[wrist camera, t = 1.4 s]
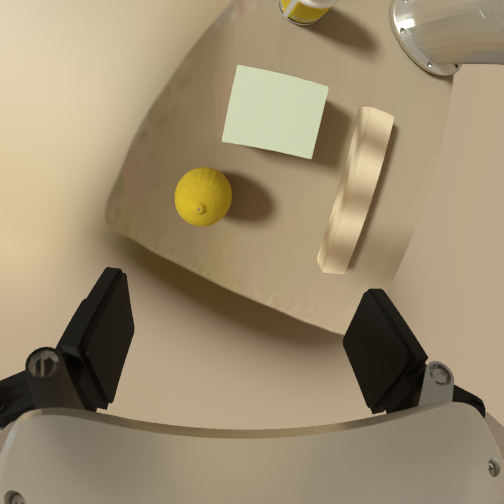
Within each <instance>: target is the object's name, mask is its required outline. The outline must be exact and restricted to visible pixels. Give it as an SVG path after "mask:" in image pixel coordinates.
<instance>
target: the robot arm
mask: <svg viewBox="0 0 504 504" xmlns="http://www.w3.org/2000/svg"><path fill="white" fill-rule="evenodd" d="M390 17H391V23H392V27H393V30H394V33H395V35H396V38H397V39H398V41H399V43H400V45H401V46H402V48H403V49H404V51H405V52H406V53H407V55H408V56H409V57H410V58H411V59H412V60H413V61H414V62H415V63H416V64H417V65H418V66H420V67H421V68H423V69H424V70H426V71H427V72H429V73H432V74H434V75H439V76H447V75H452V74H454V73H456V72H457V71H458V70H459V69H460V67H461V65H462V64H499V65H504V0H394V1H393V3H392V6H391V11H390ZM133 335H134V322H133V316H132V310H131V304H130V297H129V291H128V284H127V275H126V274H125V273H122V270H121V269H118V268H111V267H107V268H106V269H105V270H104V272H103V273H102V274H101V276H100V278H99V279H98V281H97V282H96V284H95V285H94V287H93V289H92V290H91V292H90V293H89V295H88V297H87V298H86V299H84V300H83V301H82V302H81V304H80V306H79V307H78V309H77V311H76V312H75V314H74V316H73V317H72V319H71V321H70V323H69V324H68V326H67V328H66V330H65V331H64V333H63V335H62V337H61V339H60V341H59V343H58V344H57V347H56V348H55V349H54V348H52V347H42V348H38V349H36V350H34V351H33V352H32V353H31V354H30V355H29V357H28V358H27V360H26V364H25V370H24V371H22V372H20V373H17V374H15V375H13V376H10V377H8V378H6V379H3V380H1V381H0V504H504V427H503V426H502V425H501V424H500V423H499V422H497V420H495V419H494V418H493V417H492V416H491V415H490V414H489V413H488V412H487V413H486V414H485V407H484V404H483V402H482V400H481V399H480V398H478V397H477V396H475V395H473V394H471V393H469V392H467V391H465V390H464V389H462V388H459V387H458V386H456V385H454V377H453V374H452V372H451V370H450V369H449V368H448V367H447V366H446V365H444V364H443V363H441V362H438V361H433V362H430V363H429V364H428V365H426V364H425V362H426V360H427V359H428V356H427V355H426V353H425V351H424V350H423V348H422V347H421V345H420V344H419V342H418V340H417V339H416V337H415V336H414V334H413V333H412V331H411V330H410V328H409V326H408V325H407V324H406V322H405V321H404V319H403V317H402V316H401V315H400V313H399V312H398V310H397V309H396V307H395V306H394V304H393V303H392V302H391V300H390V299H389V297H388V296H387V294H386V293H385V292H384V290H383V289H369V290H368V291H367V292H365V293H364V294H363V297H362V299H361V301H360V303H359V306H358V308H357V310H356V312H355V315H354V317H353V319H352V321H351V323H350V325H349V328H348V330H347V332H346V334H345V336H344V338H343V346H344V349H345V351H346V354H347V356H348V359H349V361H350V363H351V366H352V368H353V371H354V374H355V376H356V378H357V381H358V384H359V386H360V389H361V391H362V394H363V397H364V399H365V402H366V405H367V406H368V408H370V409H371V411H372V414H376V413H381V412H384V410H386V413H387V414H384V415H380V416H375V417H370V418H365V419H360V420H355V421H349V422H342V423H336V424H329V425H320V426H311V427H302V428H288V429H267V430H266V429H265V430H230V429H229V430H228V429H206V428H193V427H183V426H174V425H166V424H159V423H152V422H145V421H139V420H133V419H128V418H123V417H118V416H113V415H108V414H102V413H97V412H96V411H97V408H101V409H105V410H107V407H108V403H112V402H113V400H114V397H115V393H116V390H117V386H118V383H119V379H120V376H121V372H122V369H123V366H124V363H125V359H126V356H127V353H128V350H129V346H130V344H131V341H132V337H133Z"/></svg>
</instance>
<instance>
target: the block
mask: <svg viewBox="0 0 504 504" xmlns="http://www.w3.org/2000/svg"><path fill="white" fill-rule="evenodd" d="M328 88H329V87H327V86H324V85H321V84H317V83H314V82H311V81H307V80H304V79H300V78H296V77H292V76H288V75H284V74H280V73H276V72H272V71H267V70H262V69H257V68H252V67H246V66H241V65H238V66H237V70H236V74H235V79H234V83H233V88H232V93H231V97H230V102H229V107H228V112H227V117H226V122H225V127H224V132H223V138H222V142H228V143H235V144H240V145H246V146H252V147H257V148H262V149H267V150H272V151H277V152H282V153H286V154H291V155H295V156H299V157H304V158H308V159H311V158H312V154H313V150H314V146H315V142H316V138H317V134H318V130H319V126H320V122H321V118H322V114H323V109H324V105H325V101H326V96H327V92H328Z"/></svg>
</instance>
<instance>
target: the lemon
mask: <svg viewBox="0 0 504 504" xmlns="http://www.w3.org/2000/svg"><path fill="white" fill-rule="evenodd" d="M231 201H232V191H231V186H230V184H229V182H228V180H227V178H226V177H225V176H224V175H223V174H222V173H221V172H219V171H218V170H216V169H213V168H209V167H200V168H196V169H193V170H191V171H189V172H188V173H187V174H185V175H184V176H183V177H182V179H181V180H180V181H179V183H178V185H177V188H176V191H175V204H176V208H177V210H178V213H179V214H180V216H181V217H182V218H183V219H184V220H185V221H187V222H188V223H190V224H192V225H195V226H209V225H212V224H214V223H216V222H218V221H219V220H220V219H221V218H223V217H224V216H225V214H226V213H227V211H228V209H229V207H230V204H231Z"/></svg>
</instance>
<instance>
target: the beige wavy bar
mask: <svg viewBox="0 0 504 504" xmlns="http://www.w3.org/2000/svg"><path fill="white" fill-rule="evenodd" d="M393 121H394V116H392V115H390V114H387V113H385V112H383V111H380V110H378V109H375V108H373V107H359V112H358V116H357V121H356V125H355V129H354V133H353V137H352V141H351V145H350V149H349V153H348V157H347V161H346V164H345V168H344V172H343V175H342V179H341V183H340V186H339V190H338V193H337V196H336V200H335V203H334V207H333V210H332V213H331V216H330V220H329V223H328V226H327V229H326V232H325V236H324V239H323V242H322V245H321V248H320V251H319V254H318V257H317V261H318V263H319V265H320V267H321V269H322V271H323V272H326V273H335V274H343V275H344V274H345V272H346V269H347V267H348V264H349V262H350V259H351V257H352V254H353V251H354V249H355V246H356V243H357V241H358V238H359V235H360V232H361V230H362V227H363V224H364V221H365V218H366V215H367V212H368V209H369V206H370V203H371V200H372V197H373V194H374V191H375V187H376V184H377V181H378V177H379V174H380V171H381V167H382V164H383V160H384V156H385V153H386V149H387V145H388V141H389V137H390V133H391V129H392V125H393Z"/></svg>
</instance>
